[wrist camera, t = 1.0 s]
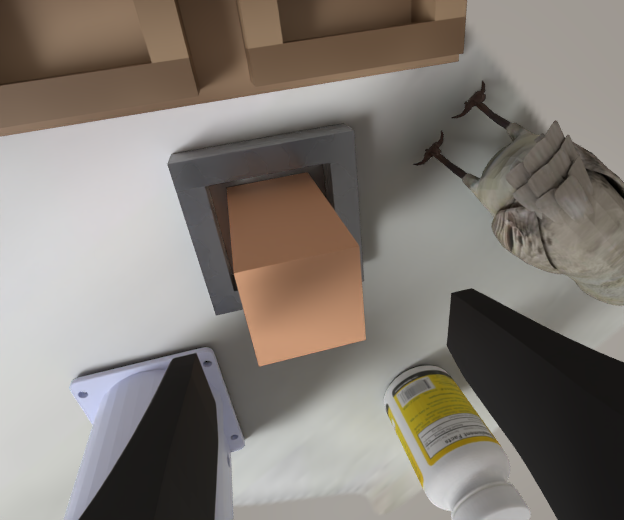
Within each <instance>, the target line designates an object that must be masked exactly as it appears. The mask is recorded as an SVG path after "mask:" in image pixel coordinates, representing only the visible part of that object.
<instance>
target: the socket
mask: <svg viewBox="0 0 624 520" xmlns="http://www.w3.org/2000/svg"><path fill="white" fill-rule="evenodd" d="M319 164H323V169H324V178H325V187H326V196H327V201H328V202H329V203H330V205H331V206H332V208H333V209H334V210H335V212H336V213H337V215H338V216H339V218H340V219H341V220H342V222H343V223H344V225H345V226H346V228H347V229H348V230H349V232H350V233H351V235H352V236H353V238H354V239H355V240H356V242H357V243H358V245H359V249H360V263H361V277H362V282H363V281H364V275H363V260H362V244H361V229H360V214H359V198H358V183H357V167H356V152H355V137H354V130H353V129H351V128H350V127H348V126H347V125H345V124H344V123H343V124H338V125H332V126H326V127H321V128H315V129H310V130H304V131H298V132H293V133H287V134H282V135H276V136H270V137H265V138H259V139H254V140H248V141H242V142H237V143H231V144H226V145H220V146H214V147H209V148H203V149H197V150H192V151H186V152H181V153H175V154H171V156H170V158H169V161H168V168H169V171H170V174H171V177H172V180H173V183H174V186H175V189H176V192H177V195H178V199H179V202H180V205H181V208H182V211H183V214H184V217H185V220H186V223H187V227H188V230H189V233H190V236H191V239H192V242H193V245H194V248H195V251H196V255H197V258H198V261H199V264H200V267H201V270H202V273H203V276H204V279H205V283H206V286H207V289H208V292H209V295H210V298H211V301H212V304H213V307H214V311H215V314H216V315H220V314H225V313H229V312H233V311H237V310H242V309H243V306H242V302H241V298H240V295H239V291H238V287H237V284H236V280H235V276H234V275H232V271H231V267H230V264H229V260H228V256H227V253H226V249H225V245H224V242H223V238H222V234H221V231H220V227H219V224H218V220H217V216H216V213H215V209H214V205H213V202H212V198H211V194H210V191H209V187H208V186H209V185H214V184H219V183H224V182H230V181H235V180H240V179H245V178H251V177H256V176H261V175H266V174H272V173H277V172H282V171H287V170H293V169H298V168H303V167H308V166H314V165H319Z"/></svg>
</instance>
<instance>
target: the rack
mask: <svg viewBox="0 0 624 520" xmlns="http://www.w3.org/2000/svg"><path fill="white" fill-rule="evenodd" d="M466 8H467V0H0V136H7V135H13V134H19V133H25V132H31V131H37V130H43V129H49V128H55V127H61V126H68V125H74V124H80V123H86V122H92V121H98V120H104V119H110V118H116V117H122V116H128V115H135V114H141V113H147V112H153V111H159V110H165V109H171V108H177V107H183V106H189V105H195V104H202V103H208V102H214V101H220V100H226V99H232V98H238V97H244V96H250V95H256V94H262V93H269V92H275V91H281V90H287V89H293V88H299V87H305V86H311V85H317V84H323V83H329V82H336V81H342V80H348V79H354V78H360V77H366V76H372V75H378V74H384V73H390V72H396V71H403V70H409V69H415V68H421V67H427V66H433V65H439V64H445V63H451V62H457V61H459V54H463V51H464V37H465V22H466Z"/></svg>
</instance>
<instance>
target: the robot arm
mask: <svg viewBox="0 0 624 520" xmlns="http://www.w3.org/2000/svg"><path fill="white" fill-rule="evenodd" d="M447 347H448V349H449V351H450V352H451V354H452V356H453V358H454V360H455V362H456V364H457V366H458V367H459V369H460V371H461V373H462V374H463V376H464V378H465V379H466V381H467V382H468V384H469V385H470V386H471V388H472V389H473V391H474V392H475V393H476V395H477V396H478V398H479V399H480V400H481V402H482V403H483V405H484V406H485V407H486V409H487V410H488V411H489V413H490V414H491V416H492V417H493V418H494V420H495V421H496V422H497V424H498V425H499V427H500V428H501V429H502V431H503V432H504V433H505V435H506V436H507V438H508V439H509V440H510V442H511V443H512V444H513V446H514V447H515V449H516V450H517V452H518V453H519V455H520V456H521V458H522V459H523V461H524V462H525V464H526V466H527V467H528V469H529V471H530V472H531V474H532V476H533V477H534V479H535V481H536V482H537V484H538V486H539V487H540V489H541V491H542V493H543V494H544V496H545V498H546V500H547V501H548V503H549V505H550V507H551V508H552V510H553V512H554V514H555V516H556V517H557V519H558V520H624V362H621V361H619V360H616V359H614V358H611V357H609V356H607V355H604V354H602V353H599V352H597V351H595V350H593V349H591V348H589V347H586V346H584V345H582V344H580V343H578V342H575V341H573V340H571V339H569V338H567V337H565V336H563V335H561V334H559V333H557V332H555V331H552V330H550V329H549V328H547V327H545V326H543V325H541V324H539V323H537V322H535V321H533V320H531V319H529V318H527V317H525V316H523V315H521V314H520V313H518V312H516V311H514V310H512V309H510V308H508V307H506V306H505V305H503V304H501V303H499V302H497V301H495V300H493V299H491V298H490V297H488V296H486V295H484V294H482V293H480V292H478V291H476V290H474V289H472V288H471V289H467V290H462V291H458V292H454V293H451V304H450V316H449V327H448V338H447ZM204 361H211V362H207V363H206V362H204ZM69 389H70V391H71V393H72V394H73V396H74V397H75V399H76V400H77V402H78V403H79V405H80V406H81V408H82V409H83V411H84V412H85V414H86V416H87V417H88V419H89V420H90V422H91V423H92V425H93V426H92V429H91V433H90V436H89V439H88V442H87V445H86V449H85V452H84V455H83V458H82V462H81V465H80V468H79V471H78V474H77V478H76V481H75V484H74V487H73V490H72V494H71V497H70V500H69V503H68V507H67V510H66V513H65V516H64V519H63V520H234V516H233V492H232V468H231V452H234V451H237V450H240V449H242V448H243V447H244V446H245V442H244V437H243V434H242V432H241V429H240V426H239V423H238V420H237V417H236V414H235V411H234V408H233V406H232V403H231V400H230V397H229V394H228V391H227V388H226V385H225V383H224V380H223V377H222V374H221V371H220V368H219V365H218V362H217V359H216V357H215V354H214V351H213V350H212V349H211V348H208V347H203V348H199V349H194V350H190V351H186V352H182V353H178V354H174V355H170V356H165V357H161V358H157V359H153V360H149V361H145V362H140V363H136V364H132V365H128V366H124V367H120V368H116V369H111V370H107V371H103V372H99V373H95V374H91V375H87V376H82V377H78V378H75V379H73V380H72V381H71V384H70V387H69ZM81 391H84V392H86V393H84V392H81Z"/></svg>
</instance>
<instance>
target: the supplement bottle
mask: <svg viewBox="0 0 624 520" xmlns="http://www.w3.org/2000/svg"><path fill="white" fill-rule="evenodd" d="M384 406H385V409H386V412H387V414H388V416H389V418H390V420H391V423H392V425H393V427H394V429H395V431H396V433H397V435H398V437H399V439H400V441H401V443H402V445H403V448H404V450H405V452H406V454H407V456H408V458H409V460H410V462H411V464H412V466H413V469H414V471H415V473H416V475H417V477H418V479H419V481H420V483H421V485H422V487H423V489H424V491H425V493H426V495H427V497H428V498H429V500H430V501H431V502H432V503H433V504H434V505H435V506H437V507H439V508H441V509H444V510H448V511H452V513H451V518H452V520H530V517H531V511H530V509H529V507H528V506H527V504H526V503H525V501H524V500H523V498H522V496H521V495H520V493H519V492H518V490H517V489H516V488H515V487H514V485H513V484H511V483H510V482H507V480H508V478H509V474H510V462H509V459H508V456H507V454H506V453H505V451H504V450H503V448H502V447H501V445H500V444H499V443H498V441H497V440H496V439H495V437H494V436H493V434H492V433H491V432H490V430H489V429H488V427H487V426H486V425H485V423H484V422H483V420H482V419H481V418H480V416H479V415H478V414H477V412H476V411H475V409H474V408H473V407H472V405H471V404H470V402H469V401H468V400H467V398H466V397H465V395H464V394H463V393H462V391H461V390H460V388H459V387H458V386H457V384H456V383H455V382H454V380H453V379H452V378H451V376H450V375H449V374H448V373H447V372H446V371H445V370H443V369H442V368H440V367H437V366H430V365H426V366H419V367H415V368H412V369H410V370H408V371H406V372H404V373H402V374H401V375H399V376H398V377H397V378H396V379H395V380H394V381H393V382H392V383H391V384H390V386H389V387H388V389H387V391H386V393H385V397H384Z"/></svg>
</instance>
